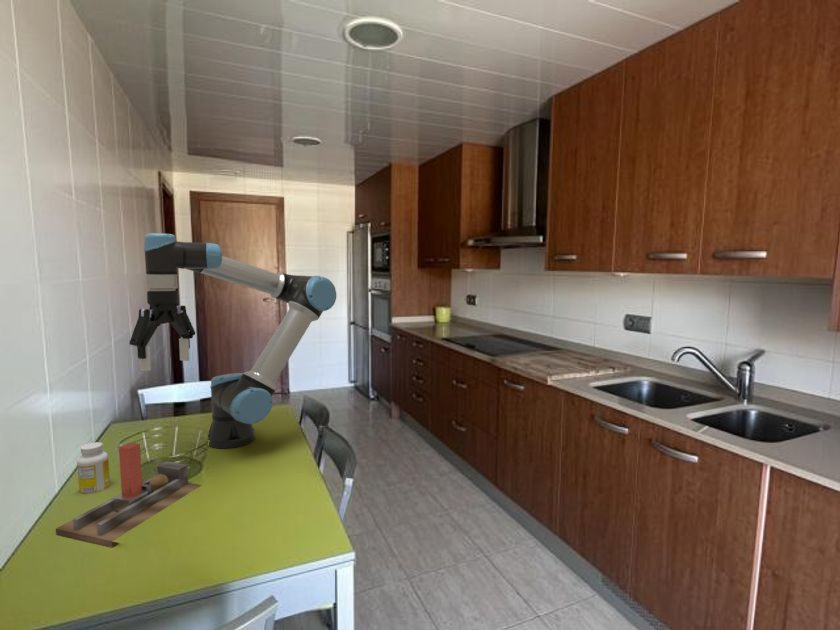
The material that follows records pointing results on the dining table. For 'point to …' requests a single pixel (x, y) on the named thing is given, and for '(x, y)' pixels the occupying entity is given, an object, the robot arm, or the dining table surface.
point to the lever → (130, 477)
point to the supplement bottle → (93, 468)
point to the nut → (158, 482)
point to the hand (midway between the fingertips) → (166, 365)
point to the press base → (128, 510)
